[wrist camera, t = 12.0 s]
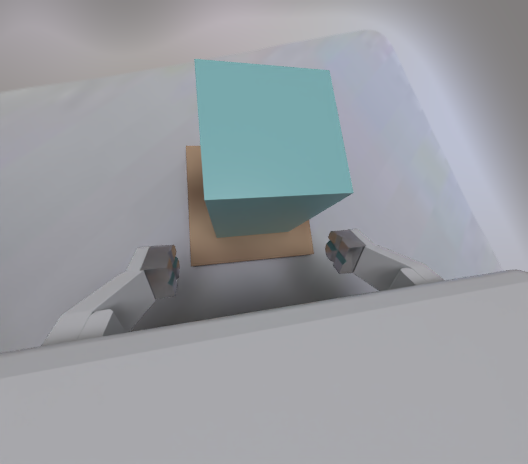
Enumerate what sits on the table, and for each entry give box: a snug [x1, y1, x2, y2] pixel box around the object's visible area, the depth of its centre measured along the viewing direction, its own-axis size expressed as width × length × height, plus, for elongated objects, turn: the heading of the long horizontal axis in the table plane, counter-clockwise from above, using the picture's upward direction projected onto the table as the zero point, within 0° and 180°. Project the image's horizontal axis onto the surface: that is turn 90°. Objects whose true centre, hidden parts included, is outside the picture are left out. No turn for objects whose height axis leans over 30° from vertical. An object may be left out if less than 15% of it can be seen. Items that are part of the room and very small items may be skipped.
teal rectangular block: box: [194, 59, 353, 238], centre depth 13 cm, size 6×6×9 cm
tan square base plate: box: [186, 146, 314, 266], centre depth 14 cm, size 10×10×8 cm
